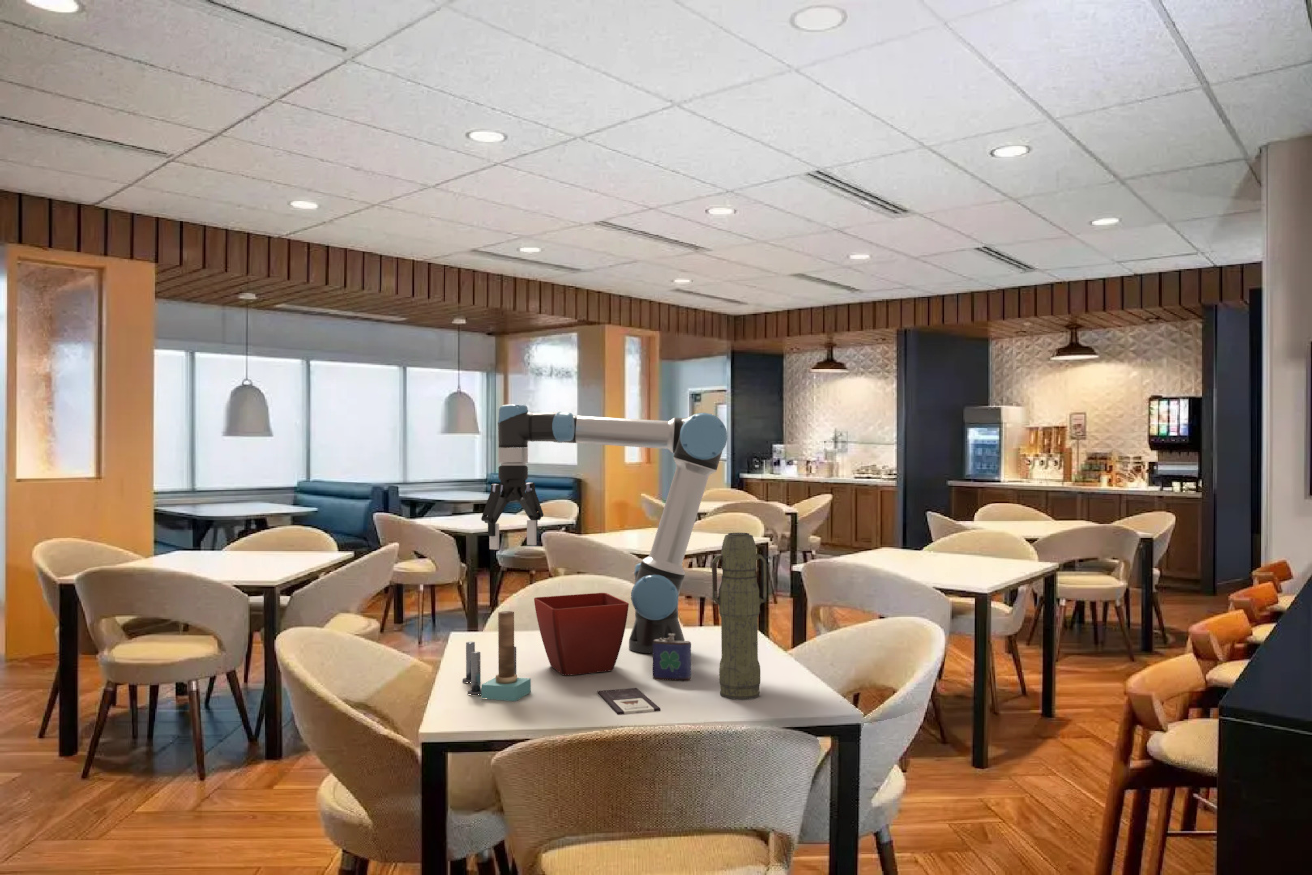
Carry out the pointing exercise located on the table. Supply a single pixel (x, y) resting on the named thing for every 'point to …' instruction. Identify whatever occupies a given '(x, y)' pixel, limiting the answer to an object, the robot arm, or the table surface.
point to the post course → (476, 668)
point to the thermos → (739, 615)
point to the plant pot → (582, 631)
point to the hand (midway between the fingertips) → (513, 547)
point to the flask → (671, 659)
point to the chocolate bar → (628, 701)
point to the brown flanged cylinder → (506, 648)
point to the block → (506, 689)
